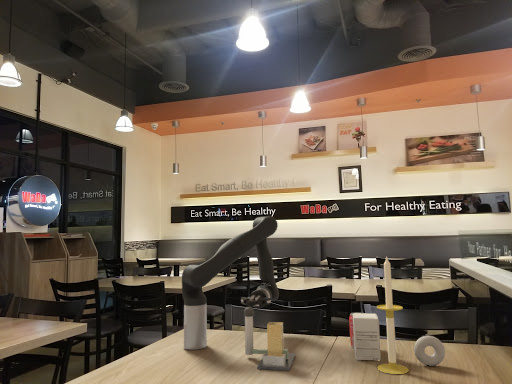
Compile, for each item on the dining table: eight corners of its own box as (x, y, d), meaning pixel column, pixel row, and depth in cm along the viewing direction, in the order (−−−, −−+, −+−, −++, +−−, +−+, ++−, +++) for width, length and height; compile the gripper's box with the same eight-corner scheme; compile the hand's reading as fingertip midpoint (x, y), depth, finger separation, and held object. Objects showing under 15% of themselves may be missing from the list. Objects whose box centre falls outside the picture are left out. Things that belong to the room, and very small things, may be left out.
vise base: (266, 354, 150) (266, 343, 150) (295, 355, 147) (295, 344, 148) (257, 369, 133) (257, 356, 134) (289, 371, 131) (289, 357, 132)
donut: (416, 367, 132) (414, 336, 134) (413, 363, 136) (412, 333, 137) (447, 368, 131) (445, 337, 132) (444, 364, 134) (442, 334, 135)
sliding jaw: (245, 352, 148) (244, 305, 150) (289, 354, 145) (288, 306, 147) (241, 357, 143) (241, 308, 145) (287, 359, 139) (286, 309, 141)
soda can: (369, 350, 152) (368, 316, 153) (350, 349, 153) (349, 315, 155) (368, 345, 159) (366, 312, 160) (350, 344, 160) (348, 312, 162)
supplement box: (354, 353, 149) (352, 312, 151) (378, 354, 147) (376, 313, 149) (355, 360, 140) (353, 317, 142) (381, 361, 139) (378, 318, 140)
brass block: (270, 359, 141) (269, 321, 142) (283, 359, 140) (282, 322, 141) (267, 362, 137) (267, 324, 138) (282, 363, 136) (281, 324, 137)
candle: (394, 363, 137) (388, 254, 141) (415, 372, 128) (408, 255, 132) (370, 367, 133) (365, 255, 137) (390, 376, 124) (384, 257, 128)
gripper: (245, 288, 171) (234, 293, 154) (275, 289, 168) (267, 294, 151) (245, 306, 170) (234, 313, 153) (275, 307, 167) (267, 314, 150)
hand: (250, 304), depth 152 cm, fingers closed
